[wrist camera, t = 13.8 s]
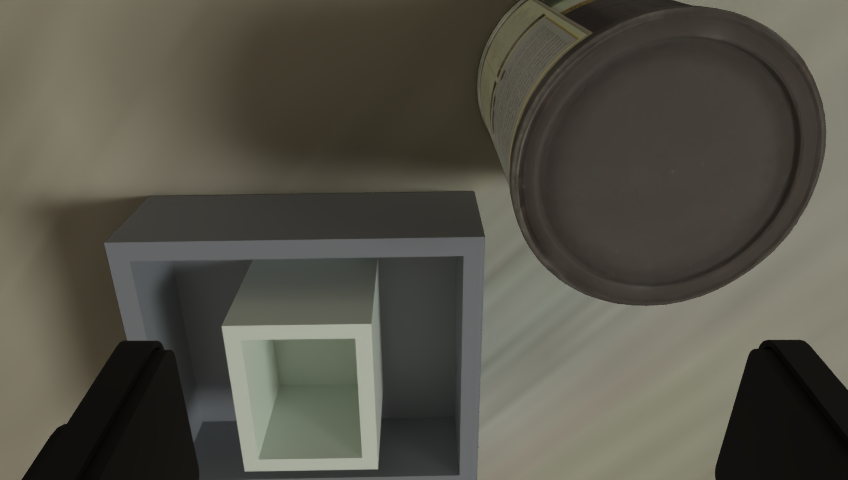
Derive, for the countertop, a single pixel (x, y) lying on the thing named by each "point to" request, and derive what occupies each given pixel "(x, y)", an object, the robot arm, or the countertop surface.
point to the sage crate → (307, 364)
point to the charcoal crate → (305, 239)
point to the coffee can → (650, 142)
